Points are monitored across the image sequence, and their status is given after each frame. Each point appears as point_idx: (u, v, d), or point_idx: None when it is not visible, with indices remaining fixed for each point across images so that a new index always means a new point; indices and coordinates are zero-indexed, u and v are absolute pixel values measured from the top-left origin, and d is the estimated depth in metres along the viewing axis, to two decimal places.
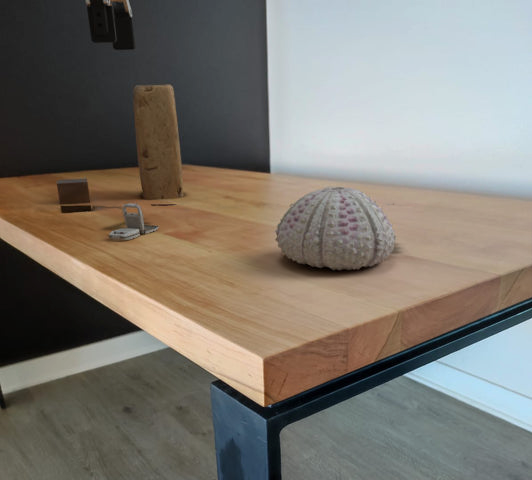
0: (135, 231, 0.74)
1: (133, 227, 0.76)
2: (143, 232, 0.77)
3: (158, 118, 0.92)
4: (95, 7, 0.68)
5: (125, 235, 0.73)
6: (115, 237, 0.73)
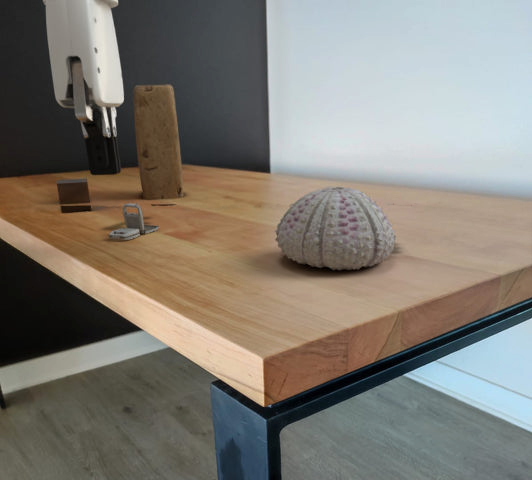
0: (135, 231, 0.74)
1: (133, 227, 0.76)
2: (143, 232, 0.77)
3: (158, 118, 0.92)
4: (94, 140, 0.61)
5: (125, 235, 0.73)
6: (115, 237, 0.73)
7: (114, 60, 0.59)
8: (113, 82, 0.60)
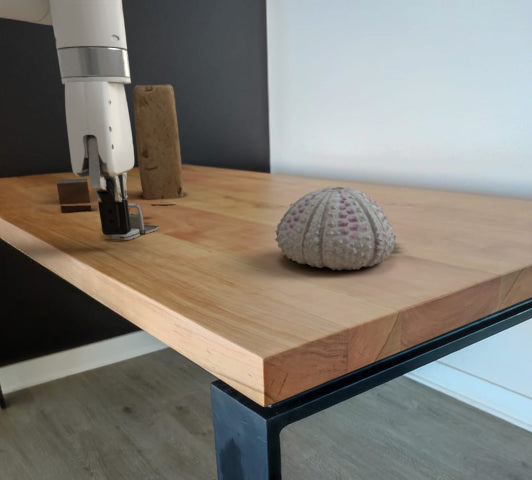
0: (135, 231, 0.74)
1: (133, 227, 0.76)
2: (143, 232, 0.77)
3: (158, 118, 0.92)
4: (107, 205, 0.66)
5: (125, 235, 0.73)
6: (115, 237, 0.73)
7: (126, 132, 0.64)
8: (125, 152, 0.64)
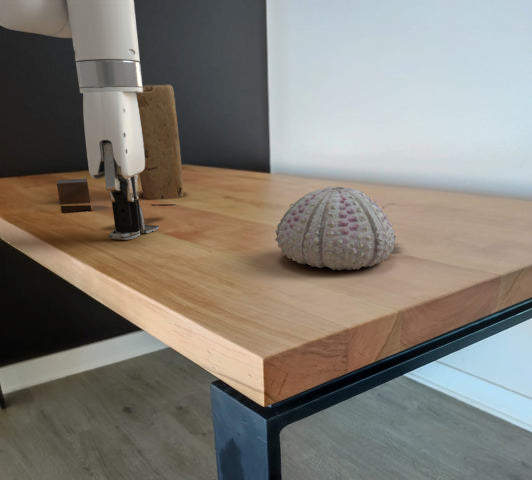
0: None
1: None
2: (143, 232, 0.77)
3: (158, 118, 0.92)
4: (120, 204, 0.71)
5: (125, 235, 0.73)
6: (115, 237, 0.73)
7: (138, 137, 0.70)
8: (137, 156, 0.70)
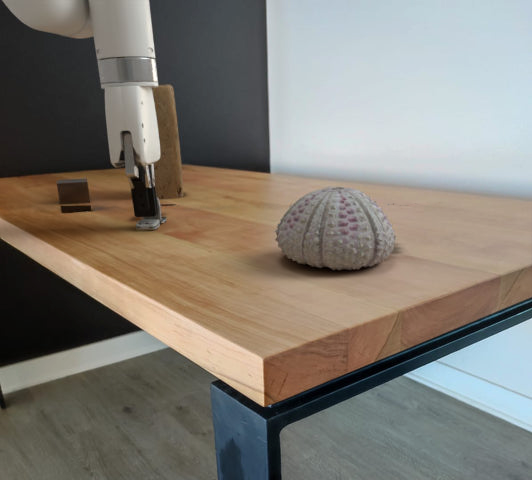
0: (158, 221, 0.81)
1: (150, 218, 0.82)
2: (159, 222, 0.83)
3: (158, 118, 0.92)
4: (138, 191, 0.77)
5: (154, 225, 0.79)
6: (144, 227, 0.79)
7: (154, 128, 0.76)
8: (154, 145, 0.76)
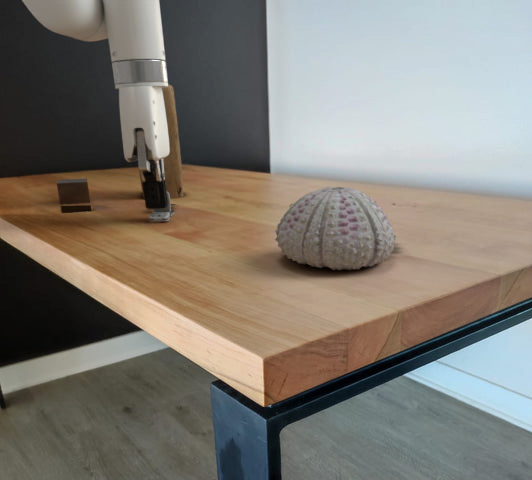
0: (169, 214, 0.86)
1: (161, 211, 0.88)
2: (169, 215, 0.89)
3: None
4: (149, 184, 0.82)
5: (166, 217, 0.84)
6: (157, 219, 0.84)
7: (164, 125, 0.81)
8: (164, 142, 0.81)
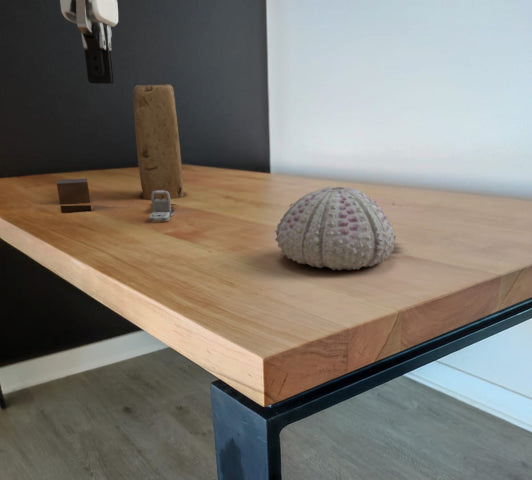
0: (169, 213, 0.86)
1: (161, 211, 0.88)
2: (169, 215, 0.89)
3: (158, 118, 0.92)
4: (92, 51, 0.73)
5: (166, 217, 0.84)
6: (157, 219, 0.84)
7: None
8: (110, 2, 0.72)
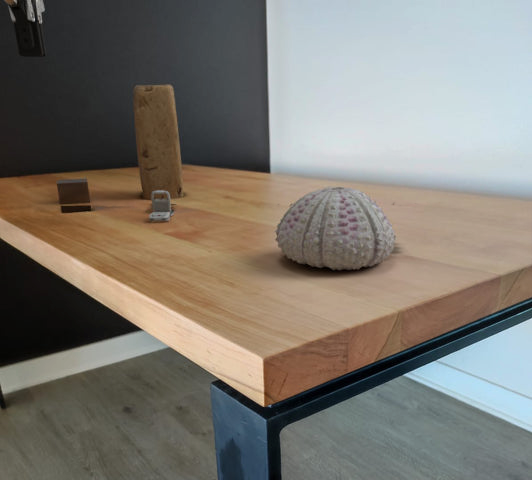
0: (169, 213, 0.86)
1: (161, 211, 0.88)
2: (169, 215, 0.89)
3: (158, 118, 0.92)
4: (20, 23, 0.73)
5: (166, 217, 0.84)
6: (157, 219, 0.84)
7: None
8: None
